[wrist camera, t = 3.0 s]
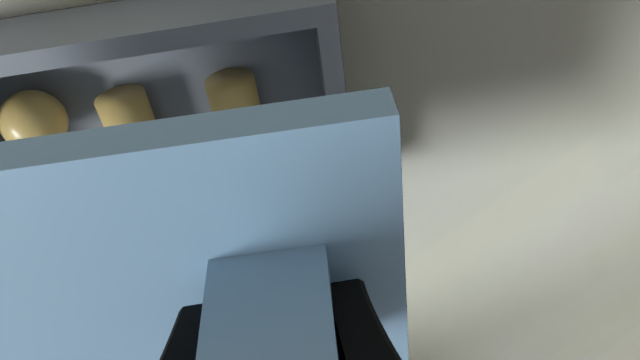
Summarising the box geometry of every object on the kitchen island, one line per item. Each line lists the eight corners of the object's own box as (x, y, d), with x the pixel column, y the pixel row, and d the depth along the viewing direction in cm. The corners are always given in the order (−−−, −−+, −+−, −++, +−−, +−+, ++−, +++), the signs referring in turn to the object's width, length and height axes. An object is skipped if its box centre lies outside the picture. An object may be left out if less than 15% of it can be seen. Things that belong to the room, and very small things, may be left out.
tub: (347, 172, 22) (359, 222, 20) (49, 219, 22) (24, 276, 20) (324, -32, 17) (336, 2, 15) (-61, 29, 17) (-112, 72, 15)
